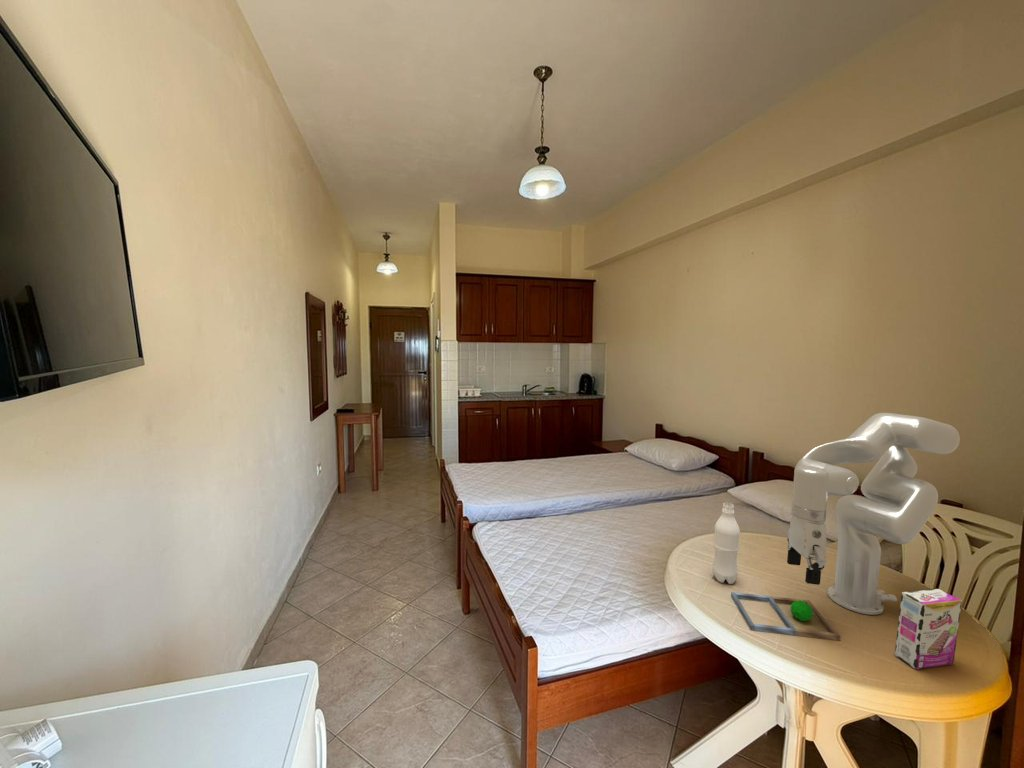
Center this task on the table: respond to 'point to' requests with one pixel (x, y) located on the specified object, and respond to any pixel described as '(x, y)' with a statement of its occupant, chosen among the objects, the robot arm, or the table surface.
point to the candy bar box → (927, 628)
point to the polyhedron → (801, 610)
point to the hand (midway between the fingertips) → (802, 573)
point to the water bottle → (726, 546)
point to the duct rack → (784, 617)
